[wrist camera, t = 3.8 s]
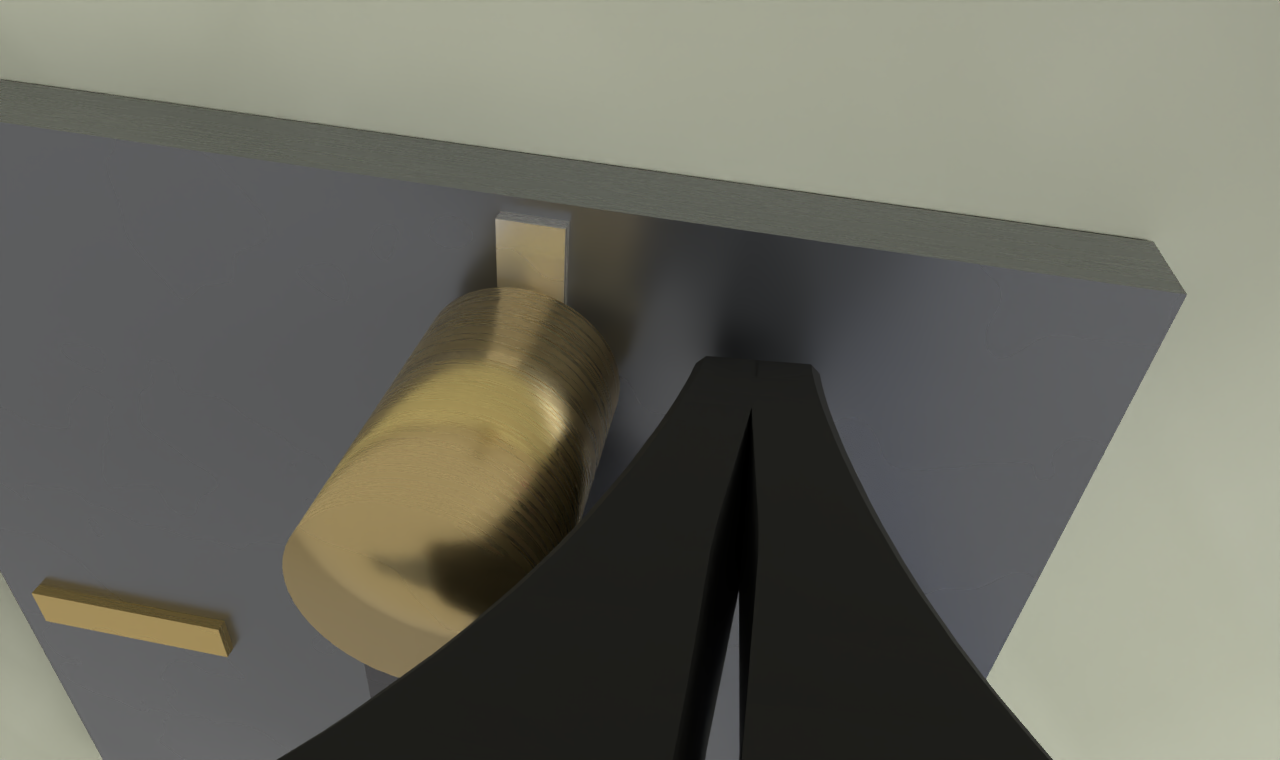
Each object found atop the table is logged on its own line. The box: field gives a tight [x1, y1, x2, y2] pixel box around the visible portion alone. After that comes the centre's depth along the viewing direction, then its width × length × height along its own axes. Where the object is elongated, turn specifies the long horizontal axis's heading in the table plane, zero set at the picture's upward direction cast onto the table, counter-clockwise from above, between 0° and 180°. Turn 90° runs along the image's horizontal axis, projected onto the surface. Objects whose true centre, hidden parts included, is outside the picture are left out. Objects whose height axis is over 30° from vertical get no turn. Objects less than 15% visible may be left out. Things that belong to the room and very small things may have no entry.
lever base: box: [0, 80, 1187, 760], centre depth 15 cm, size 17×17×4 cm
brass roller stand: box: [282, 287, 620, 698], centre depth 12 cm, size 12×6×4 cm, turn 176°
